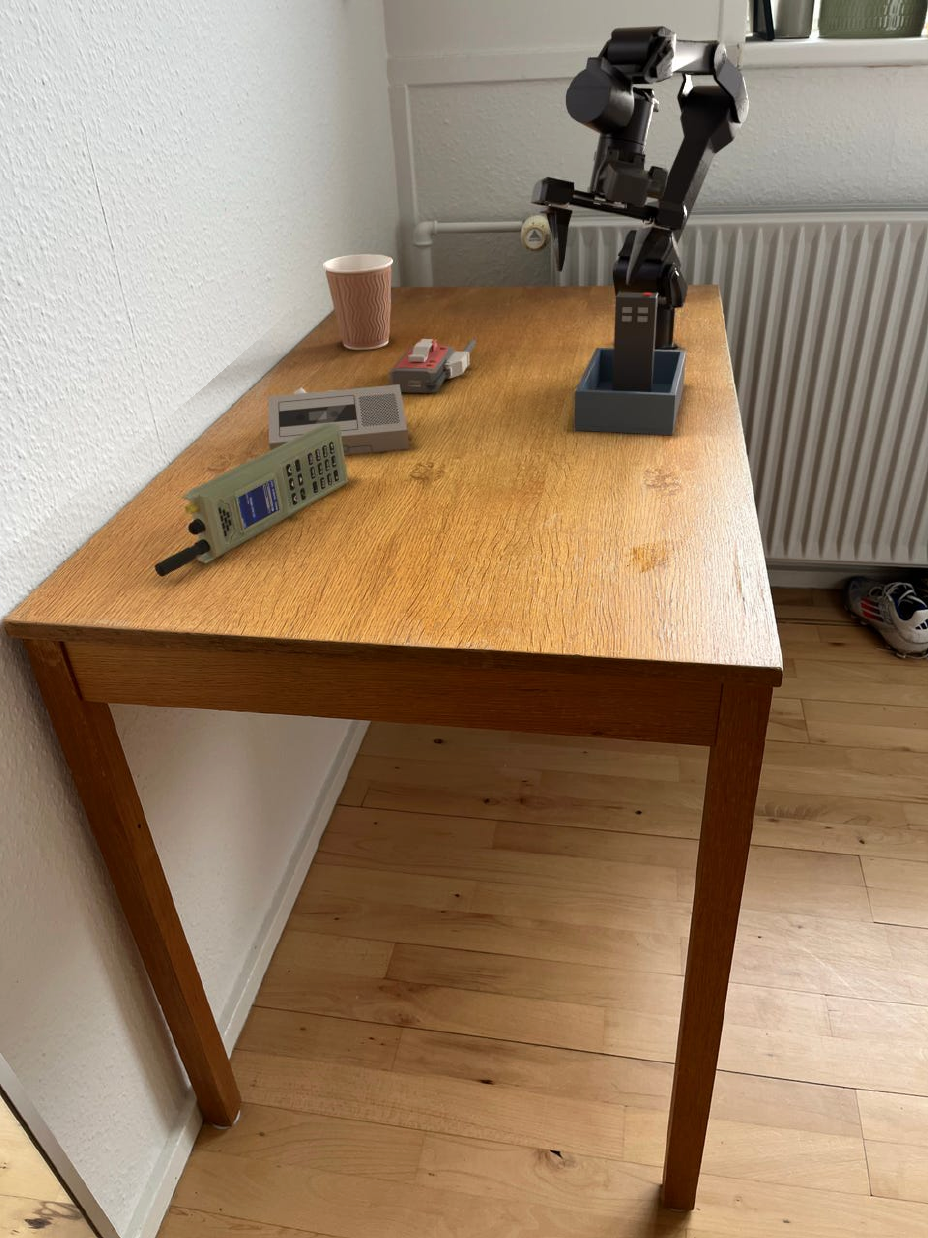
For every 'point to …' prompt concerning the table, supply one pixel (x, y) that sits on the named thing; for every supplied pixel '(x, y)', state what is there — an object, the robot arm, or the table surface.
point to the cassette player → (343, 417)
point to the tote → (630, 396)
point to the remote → (634, 341)
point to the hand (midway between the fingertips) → (594, 277)
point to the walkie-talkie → (429, 366)
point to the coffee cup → (361, 298)
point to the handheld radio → (261, 494)
